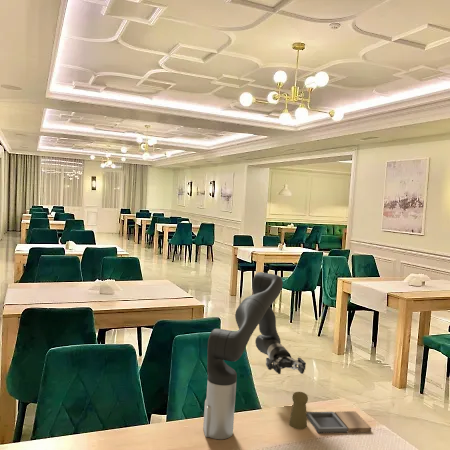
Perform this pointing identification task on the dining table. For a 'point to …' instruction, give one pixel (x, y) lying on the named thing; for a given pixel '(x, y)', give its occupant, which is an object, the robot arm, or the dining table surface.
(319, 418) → the shallow grey tray
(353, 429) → the light brown wooden board
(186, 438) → the dining table surface
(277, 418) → the dining table surface
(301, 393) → the cork
